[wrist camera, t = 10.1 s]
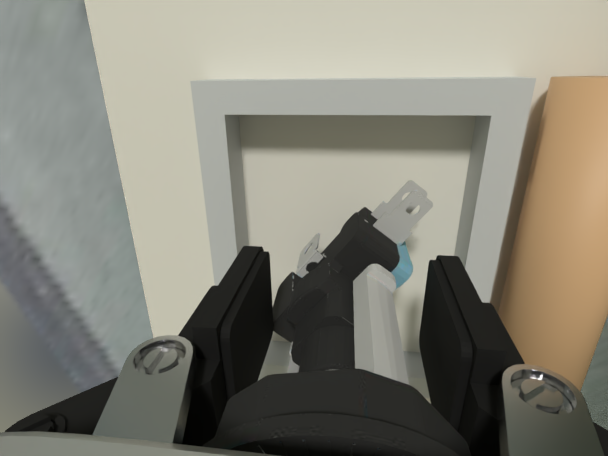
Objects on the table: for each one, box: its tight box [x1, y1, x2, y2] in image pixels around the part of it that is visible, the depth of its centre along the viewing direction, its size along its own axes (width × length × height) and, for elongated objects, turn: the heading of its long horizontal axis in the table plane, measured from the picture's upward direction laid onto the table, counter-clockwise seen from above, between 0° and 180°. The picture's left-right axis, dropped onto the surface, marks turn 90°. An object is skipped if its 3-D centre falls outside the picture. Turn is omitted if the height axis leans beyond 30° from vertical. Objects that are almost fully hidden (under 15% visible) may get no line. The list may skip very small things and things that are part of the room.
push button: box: [202, 180, 471, 456], centre depth 9 cm, size 7×5×10 cm
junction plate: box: [84, 0, 608, 404], centre depth 14 cm, size 18×18×4 cm
